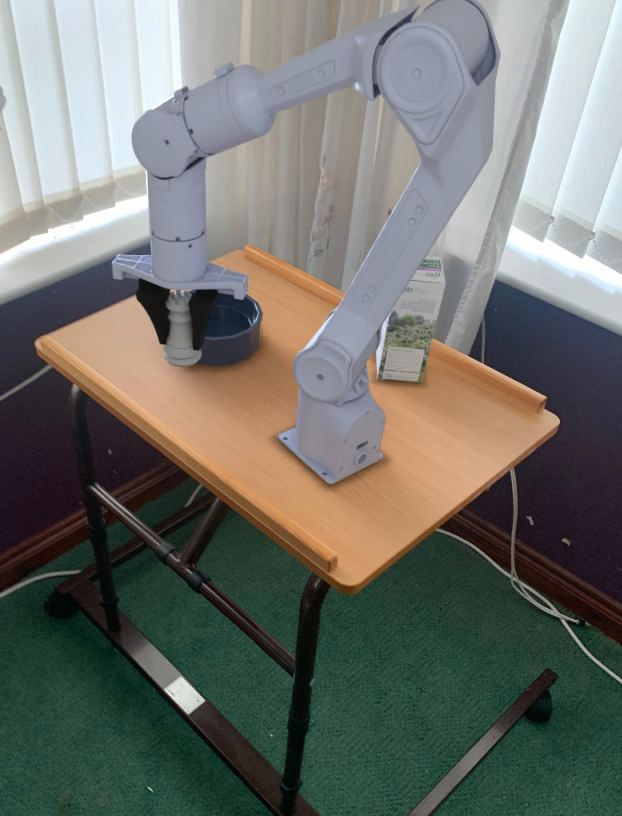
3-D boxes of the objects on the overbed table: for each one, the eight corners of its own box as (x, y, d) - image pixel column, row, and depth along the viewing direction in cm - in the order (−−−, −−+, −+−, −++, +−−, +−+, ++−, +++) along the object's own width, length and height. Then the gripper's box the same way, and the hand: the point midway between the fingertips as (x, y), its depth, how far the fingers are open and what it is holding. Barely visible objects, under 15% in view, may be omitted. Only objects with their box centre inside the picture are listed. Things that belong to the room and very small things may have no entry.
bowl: (279, 349, 103) (281, 319, 100) (200, 381, 98) (200, 350, 95) (225, 307, 110) (226, 278, 107) (149, 334, 105) (147, 304, 101)
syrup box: (419, 358, 102) (442, 253, 92) (422, 385, 98) (447, 280, 88) (375, 354, 103) (393, 250, 92) (376, 382, 99) (395, 276, 88)
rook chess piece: (183, 341, 94) (181, 280, 88) (210, 357, 91) (209, 295, 86) (155, 357, 91) (150, 295, 86) (181, 373, 89) (179, 311, 83)
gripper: (257, 221, 82) (253, 334, 91) (124, 201, 84) (134, 314, 94) (239, 253, 77) (236, 369, 87) (99, 231, 79) (112, 346, 89)
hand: (182, 342), depth 90 cm, fingers closed on rook chess piece, 3 cm apart
